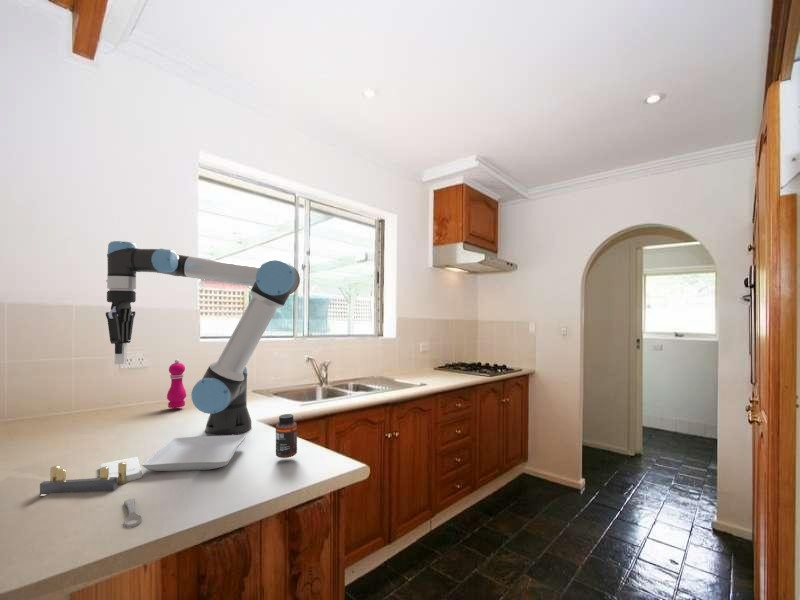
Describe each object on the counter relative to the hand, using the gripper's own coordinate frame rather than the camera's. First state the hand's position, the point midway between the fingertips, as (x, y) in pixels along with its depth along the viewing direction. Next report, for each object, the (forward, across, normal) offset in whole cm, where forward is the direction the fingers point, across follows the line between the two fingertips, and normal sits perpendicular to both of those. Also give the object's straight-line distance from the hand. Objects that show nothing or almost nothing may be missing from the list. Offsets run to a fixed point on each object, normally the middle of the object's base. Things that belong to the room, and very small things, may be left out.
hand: (120, 363), depth 123 cm
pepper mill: (+25, -42, +1) cm, 49 cm away
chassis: (+24, +34, +10) cm, 43 cm away
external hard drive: (+24, +21, +11) cm, 34 cm away
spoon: (+25, +49, +27) cm, 61 cm away
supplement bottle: (+25, +20, +54) cm, 63 cm away
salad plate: (+25, +19, +30) cm, 43 cm away
